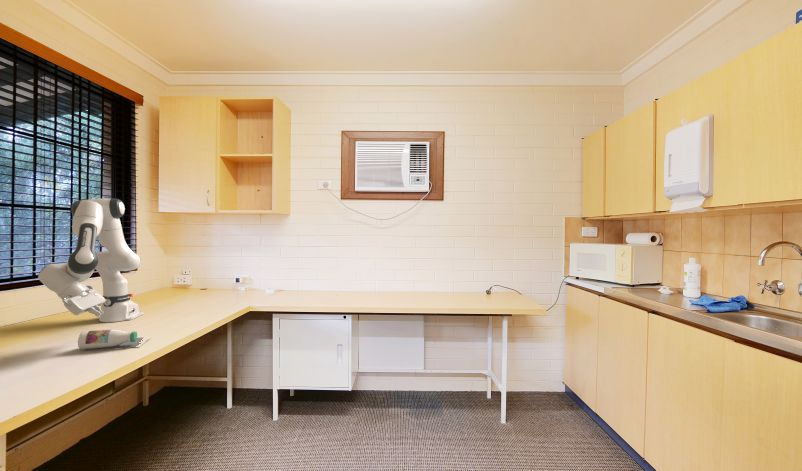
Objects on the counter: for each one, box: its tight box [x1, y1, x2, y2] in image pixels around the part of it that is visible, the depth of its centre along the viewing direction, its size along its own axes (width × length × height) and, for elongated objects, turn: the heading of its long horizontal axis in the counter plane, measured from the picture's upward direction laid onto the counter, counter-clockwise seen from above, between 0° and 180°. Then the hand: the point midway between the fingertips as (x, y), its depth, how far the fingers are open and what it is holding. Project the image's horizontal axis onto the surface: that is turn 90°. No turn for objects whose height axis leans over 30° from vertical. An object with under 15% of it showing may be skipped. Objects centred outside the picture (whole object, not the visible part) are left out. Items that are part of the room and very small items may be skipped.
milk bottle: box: [77, 329, 138, 350], centre depth 159 cm, size 8×8×20 cm
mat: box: [85, 336, 145, 351], centre depth 165 cm, size 20×14×1 cm
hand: (100, 314), depth 162 cm, fingers closed
